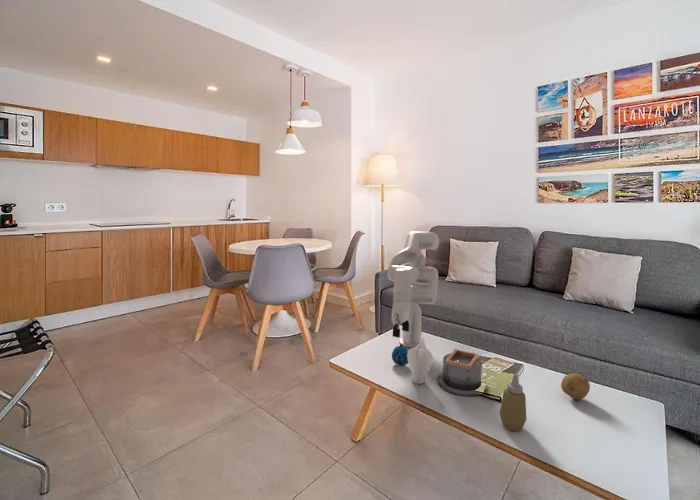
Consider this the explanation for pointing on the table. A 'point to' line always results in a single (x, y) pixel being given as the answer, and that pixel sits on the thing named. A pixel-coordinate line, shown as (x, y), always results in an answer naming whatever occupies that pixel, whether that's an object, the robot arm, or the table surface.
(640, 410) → the table surface
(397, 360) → the ornament
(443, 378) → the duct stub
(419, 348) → the shell sculpture
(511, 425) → the squeeze bottle
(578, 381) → the natural sponge
